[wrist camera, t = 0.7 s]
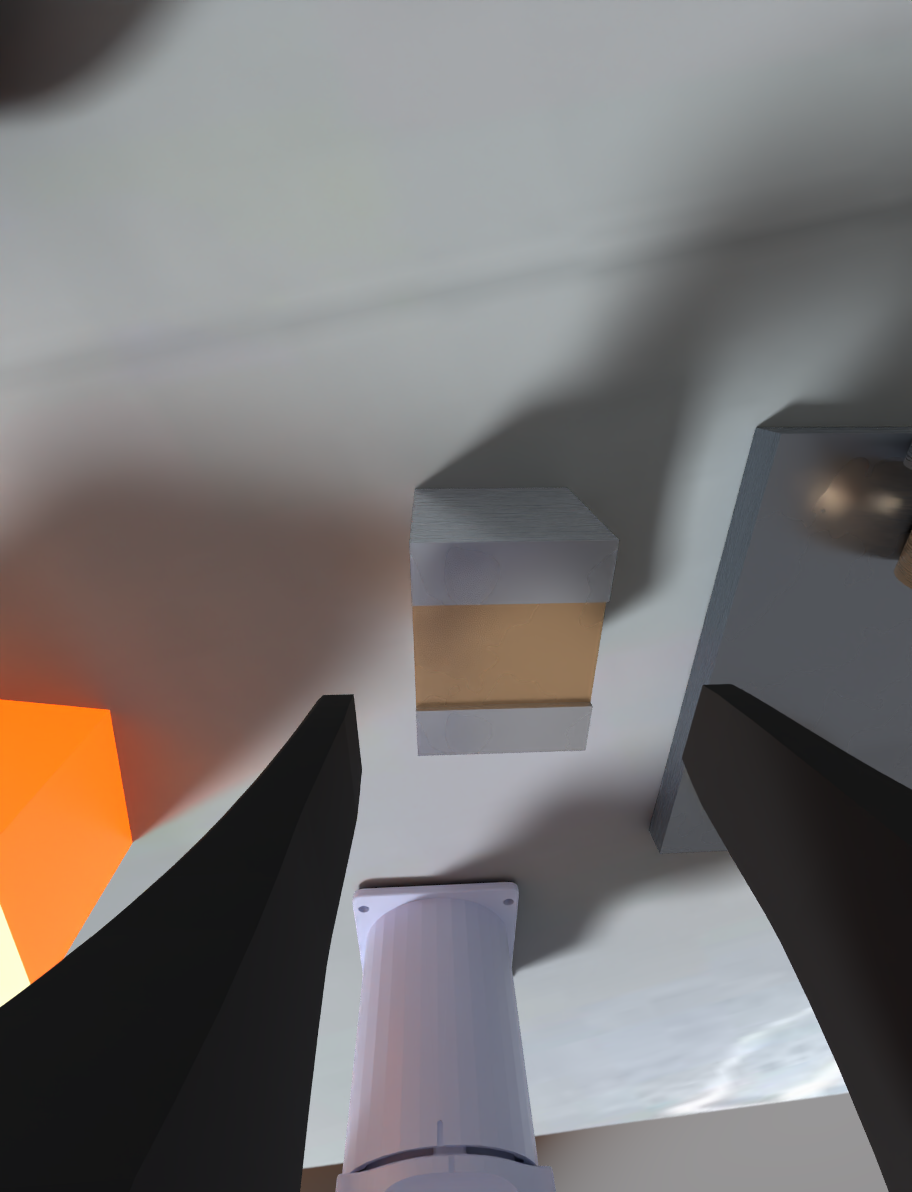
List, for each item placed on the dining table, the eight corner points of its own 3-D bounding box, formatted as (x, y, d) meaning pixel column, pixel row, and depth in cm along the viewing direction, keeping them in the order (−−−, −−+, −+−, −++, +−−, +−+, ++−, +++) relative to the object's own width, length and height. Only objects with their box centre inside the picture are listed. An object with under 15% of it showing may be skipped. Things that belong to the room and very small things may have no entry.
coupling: (549, 656, 18) (585, 750, 14) (420, 660, 18) (418, 755, 14) (567, 487, 16) (619, 540, 11) (414, 488, 15) (409, 543, 11)
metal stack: (889, 826, 24) (1034, 977, 18) (646, 837, 23) (718, 996, 18) (1124, 426, 16) (1528, 472, 10) (756, 427, 15) (958, 476, 9)
